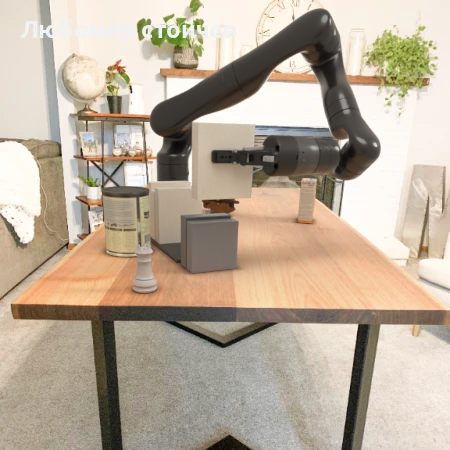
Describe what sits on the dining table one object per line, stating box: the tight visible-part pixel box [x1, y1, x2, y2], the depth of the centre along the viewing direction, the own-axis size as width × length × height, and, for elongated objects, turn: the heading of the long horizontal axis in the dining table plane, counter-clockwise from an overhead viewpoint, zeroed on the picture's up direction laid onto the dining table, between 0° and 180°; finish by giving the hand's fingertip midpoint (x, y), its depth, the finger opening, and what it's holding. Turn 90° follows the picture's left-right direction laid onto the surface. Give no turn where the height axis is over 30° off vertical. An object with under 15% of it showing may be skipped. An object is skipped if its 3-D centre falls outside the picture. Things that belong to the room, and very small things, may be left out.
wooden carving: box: [202, 199, 240, 214], centre depth 148 cm, size 16×5×10 cm, turn 49°
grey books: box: [180, 212, 239, 274], centre depth 91 cm, size 6×10×10 cm, turn 115°
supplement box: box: [297, 177, 318, 224], centre depth 141 cm, size 8×5×13 cm, turn 168°
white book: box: [191, 121, 256, 200], centre depth 80 cm, size 3×11×13 cm, turn 115°
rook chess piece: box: [131, 244, 158, 294], centre depth 77 cm, size 4×4×8 cm
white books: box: [147, 180, 203, 263], centre depth 105 cm, size 25×12×14 cm, turn 25°
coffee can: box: [101, 185, 152, 258], centre depth 100 cm, size 10×10×14 cm
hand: (208, 155), depth 79 cm, fingers closed on white book, 3 cm apart
